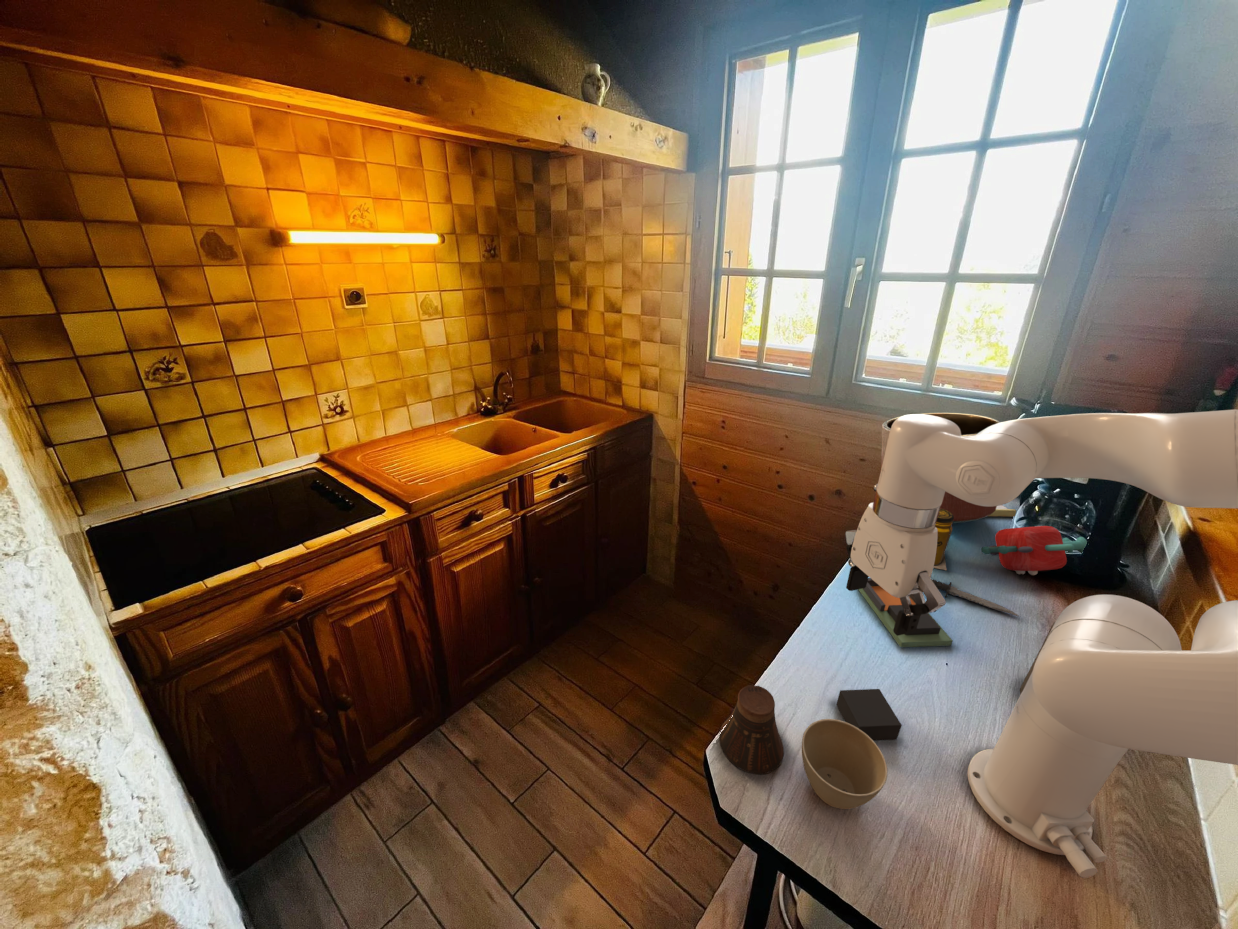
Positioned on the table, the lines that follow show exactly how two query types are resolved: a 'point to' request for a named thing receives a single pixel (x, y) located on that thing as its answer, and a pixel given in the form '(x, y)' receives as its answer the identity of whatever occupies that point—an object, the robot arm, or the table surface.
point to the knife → (969, 596)
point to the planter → (968, 427)
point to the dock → (910, 639)
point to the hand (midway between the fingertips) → (878, 609)
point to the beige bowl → (842, 763)
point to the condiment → (943, 537)
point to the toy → (1033, 549)
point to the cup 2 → (753, 732)
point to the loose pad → (869, 713)
